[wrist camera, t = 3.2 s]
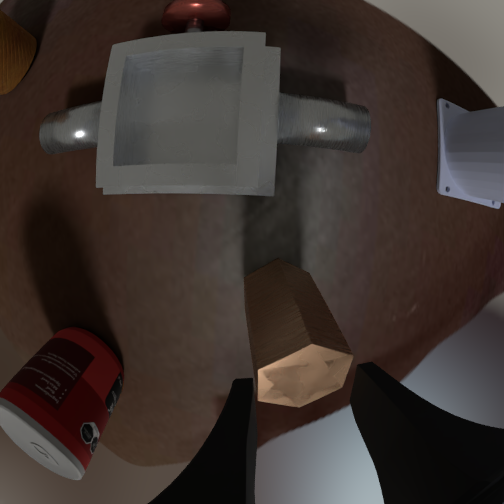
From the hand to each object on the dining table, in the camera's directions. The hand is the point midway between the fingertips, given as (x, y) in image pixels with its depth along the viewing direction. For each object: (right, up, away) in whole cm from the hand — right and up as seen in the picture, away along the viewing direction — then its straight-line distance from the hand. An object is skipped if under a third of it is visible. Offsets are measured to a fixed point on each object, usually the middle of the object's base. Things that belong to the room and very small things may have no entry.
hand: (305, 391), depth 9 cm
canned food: (-17, -5, +11) cm, 20 cm away
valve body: (-6, +14, +6) cm, 16 cm away
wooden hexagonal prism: (0, +3, +8) cm, 8 cm away
